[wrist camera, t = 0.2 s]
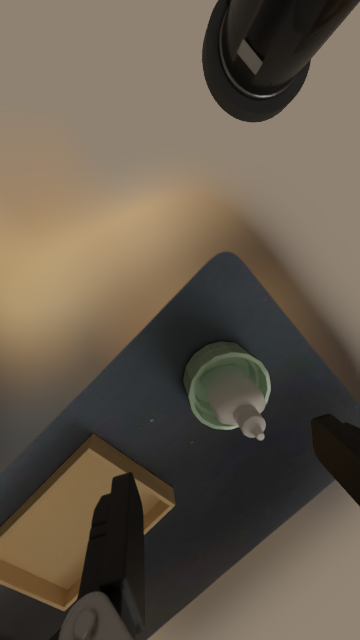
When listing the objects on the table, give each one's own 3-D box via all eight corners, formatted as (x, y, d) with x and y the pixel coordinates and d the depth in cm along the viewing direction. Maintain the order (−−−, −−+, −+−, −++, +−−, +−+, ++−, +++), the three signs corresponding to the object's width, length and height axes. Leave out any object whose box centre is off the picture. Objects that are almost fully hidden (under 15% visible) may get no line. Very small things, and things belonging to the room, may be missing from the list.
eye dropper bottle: (235, 394, 35) (281, 459, 24) (197, 389, 34) (226, 455, 23) (243, 365, 35) (295, 418, 23) (204, 359, 33) (238, 412, 22)
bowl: (175, 351, 33) (181, 365, 29) (249, 332, 34) (265, 343, 30) (191, 417, 36) (198, 439, 31) (258, 398, 37) (274, 416, 32)
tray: (93, 433, 34) (89, 448, 31) (173, 487, 38) (175, 505, 35) (-20, 546, 35) (-33, 570, 33) (69, 587, 39) (64, 611, 37)
